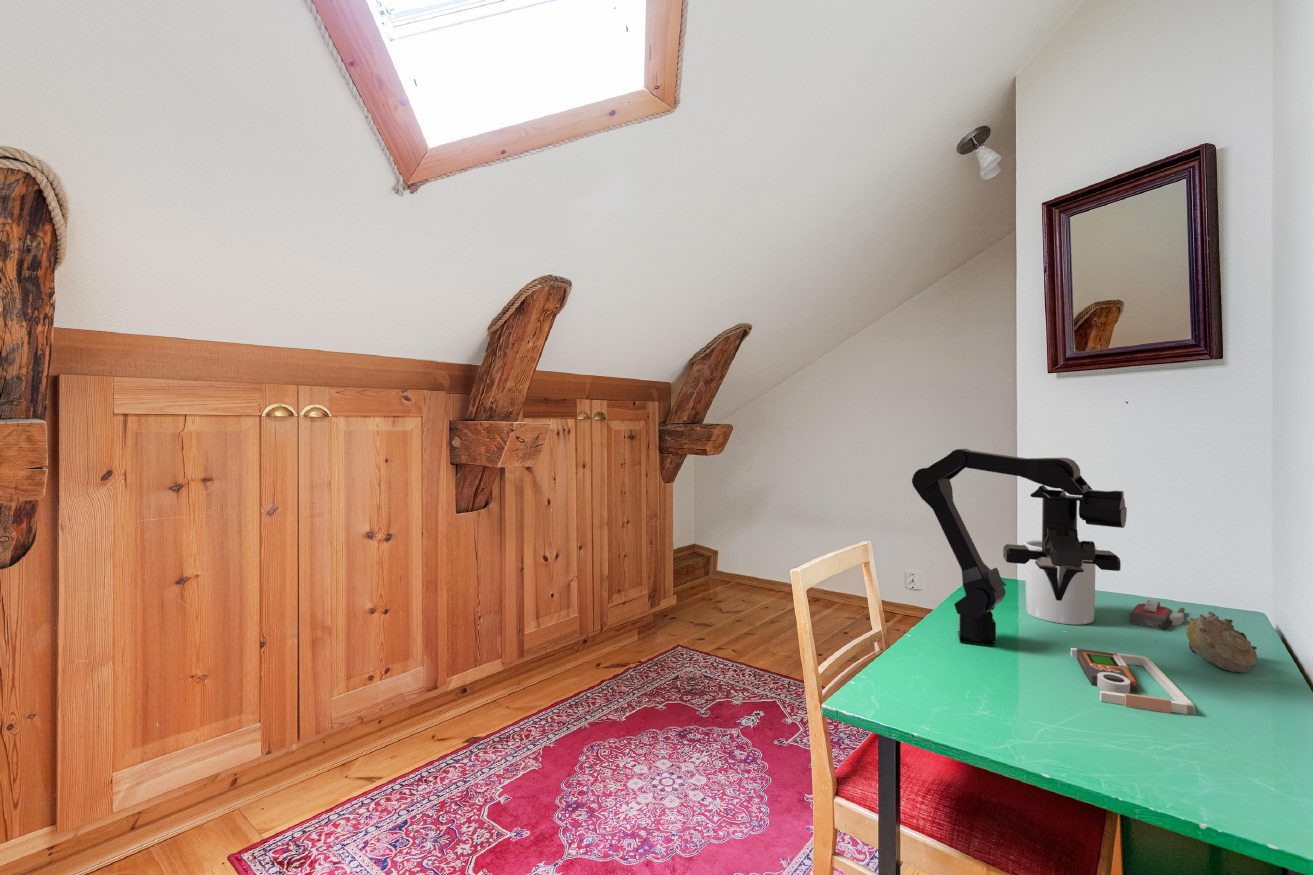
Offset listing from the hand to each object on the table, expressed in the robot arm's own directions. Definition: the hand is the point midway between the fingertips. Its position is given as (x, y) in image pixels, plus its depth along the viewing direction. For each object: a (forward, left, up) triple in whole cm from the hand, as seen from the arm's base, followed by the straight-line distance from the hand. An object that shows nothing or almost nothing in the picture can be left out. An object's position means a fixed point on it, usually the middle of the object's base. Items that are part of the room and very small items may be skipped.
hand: (1058, 600), depth 120 cm
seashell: (+29, +11, -12) cm, 34 cm away
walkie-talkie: (+27, +38, -13) cm, 49 cm away
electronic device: (+6, -6, -13) cm, 15 cm away
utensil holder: (+6, +32, -12) cm, 35 cm away
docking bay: (+9, -7, -12) cm, 17 cm away
